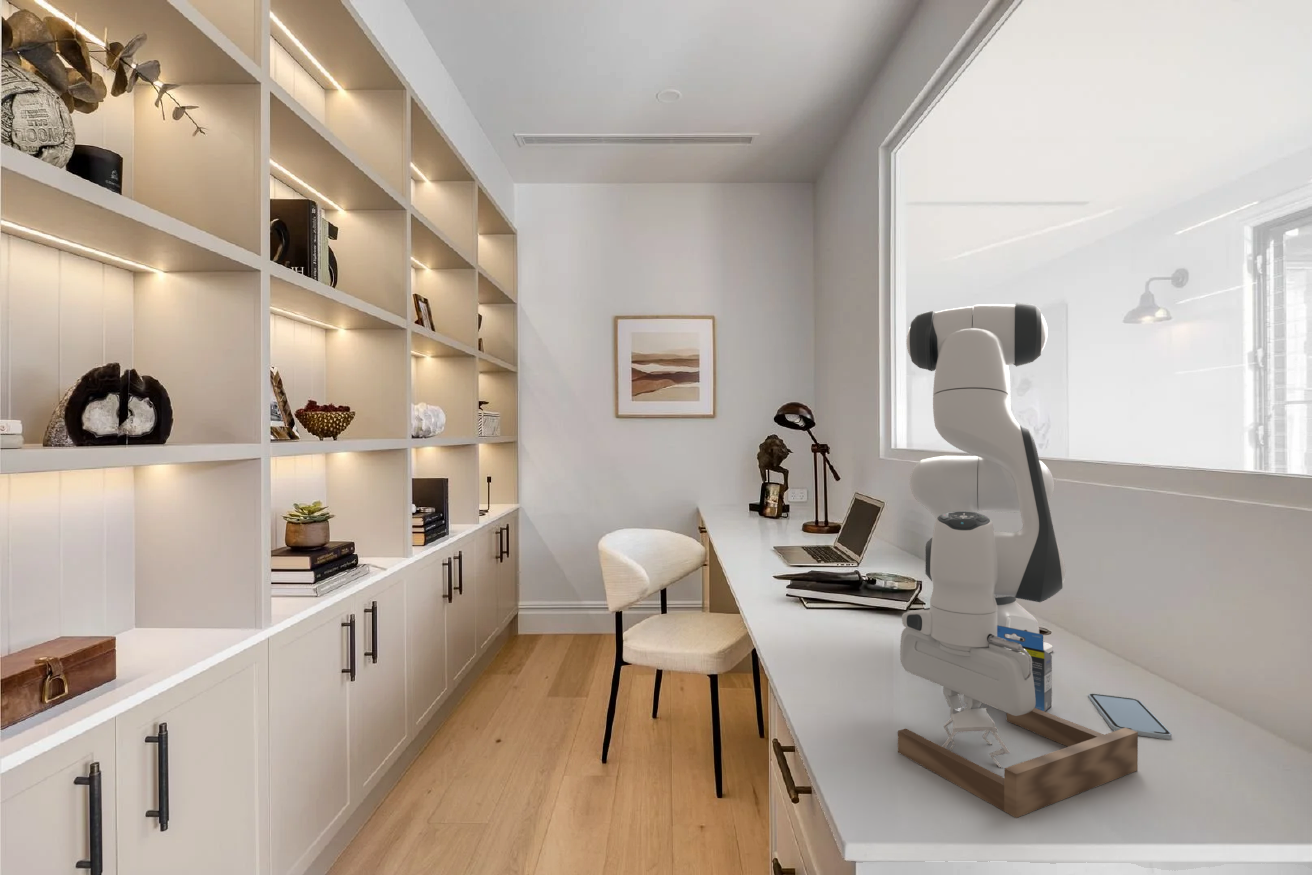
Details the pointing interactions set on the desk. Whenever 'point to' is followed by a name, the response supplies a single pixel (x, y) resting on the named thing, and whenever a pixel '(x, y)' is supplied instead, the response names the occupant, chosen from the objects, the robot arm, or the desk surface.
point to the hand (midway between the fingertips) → (962, 722)
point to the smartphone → (1129, 715)
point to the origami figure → (974, 727)
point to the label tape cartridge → (1035, 663)
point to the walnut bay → (1034, 764)
